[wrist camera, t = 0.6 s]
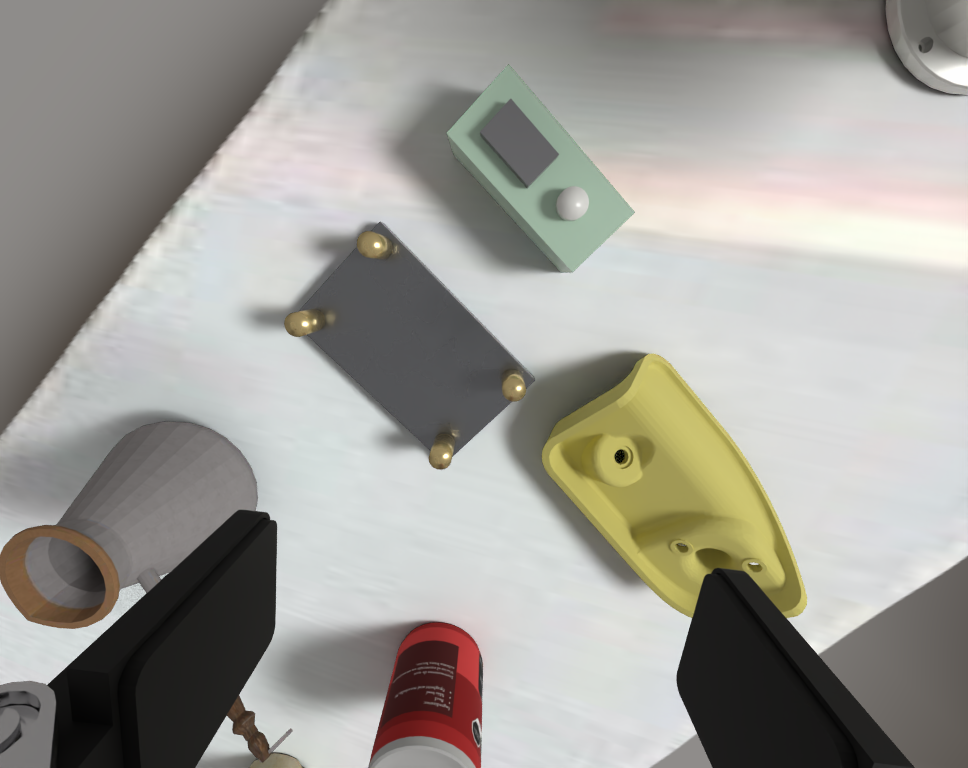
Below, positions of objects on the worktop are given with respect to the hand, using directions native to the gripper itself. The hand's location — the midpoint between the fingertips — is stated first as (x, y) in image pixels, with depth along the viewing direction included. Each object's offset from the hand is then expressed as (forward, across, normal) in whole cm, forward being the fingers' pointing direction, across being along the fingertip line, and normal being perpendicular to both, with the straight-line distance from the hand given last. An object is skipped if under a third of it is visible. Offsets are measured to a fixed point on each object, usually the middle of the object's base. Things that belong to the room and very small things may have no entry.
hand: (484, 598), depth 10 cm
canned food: (+26, +1, +27) cm, 37 cm away
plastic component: (+26, -14, +8) cm, 30 cm away
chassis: (+25, +6, -1) cm, 26 cm away
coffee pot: (+26, +18, +15) cm, 35 cm away
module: (+25, -2, -13) cm, 29 cm away
